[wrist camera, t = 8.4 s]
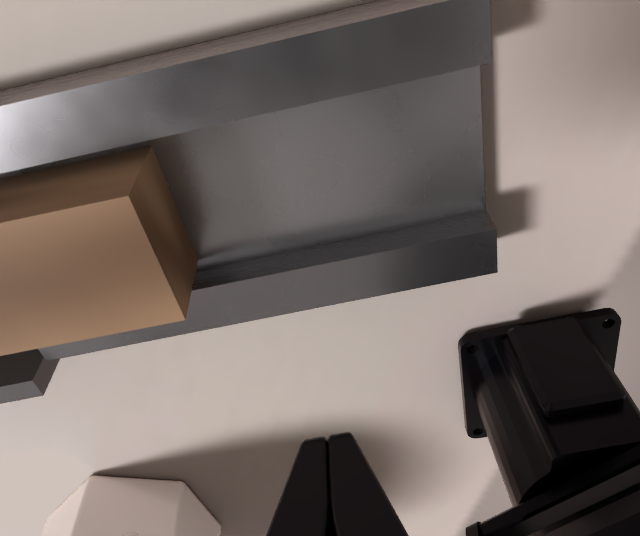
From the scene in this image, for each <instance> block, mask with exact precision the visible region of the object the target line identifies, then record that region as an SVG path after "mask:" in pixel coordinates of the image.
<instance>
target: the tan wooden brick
mask: <svg viewBox="0 0 640 536" xmlns="http://www.w3.org/2000/svg"><path fill="white" fill-rule="evenodd" d="M197 264H198V258H197V256H196V253H195V251H194V249H193V246H192V244H191V241H190V239H189V236H188V234H187V231H186V229H185V227H184V224H183V222H182V219H181V217H180V214H179V212H178V209H177V207H176V204H175V202H174V200H173V197H172V195H171V192H170V190H169V187H168V185H167V182H166V180H165V178H164V175H163V173H162V170H161V168H160V165H159V163H158V160H157V158H156V156H155V153H154V151H153V148H152V146H149V147H144V148H140V149H135V150H130V151H126V152H121V153H117V154H112V155H108V156H103V157H98V158H94V159H89V160H85V161H80V162H76V163H71V164H66V165H62V166H57V167H53V168H48V169H43V170H39V171H34V172H30V173H25V174H21V175H16V176H11V177H7V178H2V179H0V356H3V355H8V354H13V353H18V352H23V351H28V350H34V349H39V348H44V347H49V346H54V345H59V344H65V343H70V342H75V341H80V340H85V339H90V338H96V337H101V336H106V335H111V334H116V333H121V332H127V331H132V330H137V329H142V328H147V327H152V326H158V325H163V324H168V323H173V322H178V321H183V320H186V315H187V311H188V306H189V301H190V297H191V292H192V287H193V283H194V278H195V273H196V269H197Z"/></svg>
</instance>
